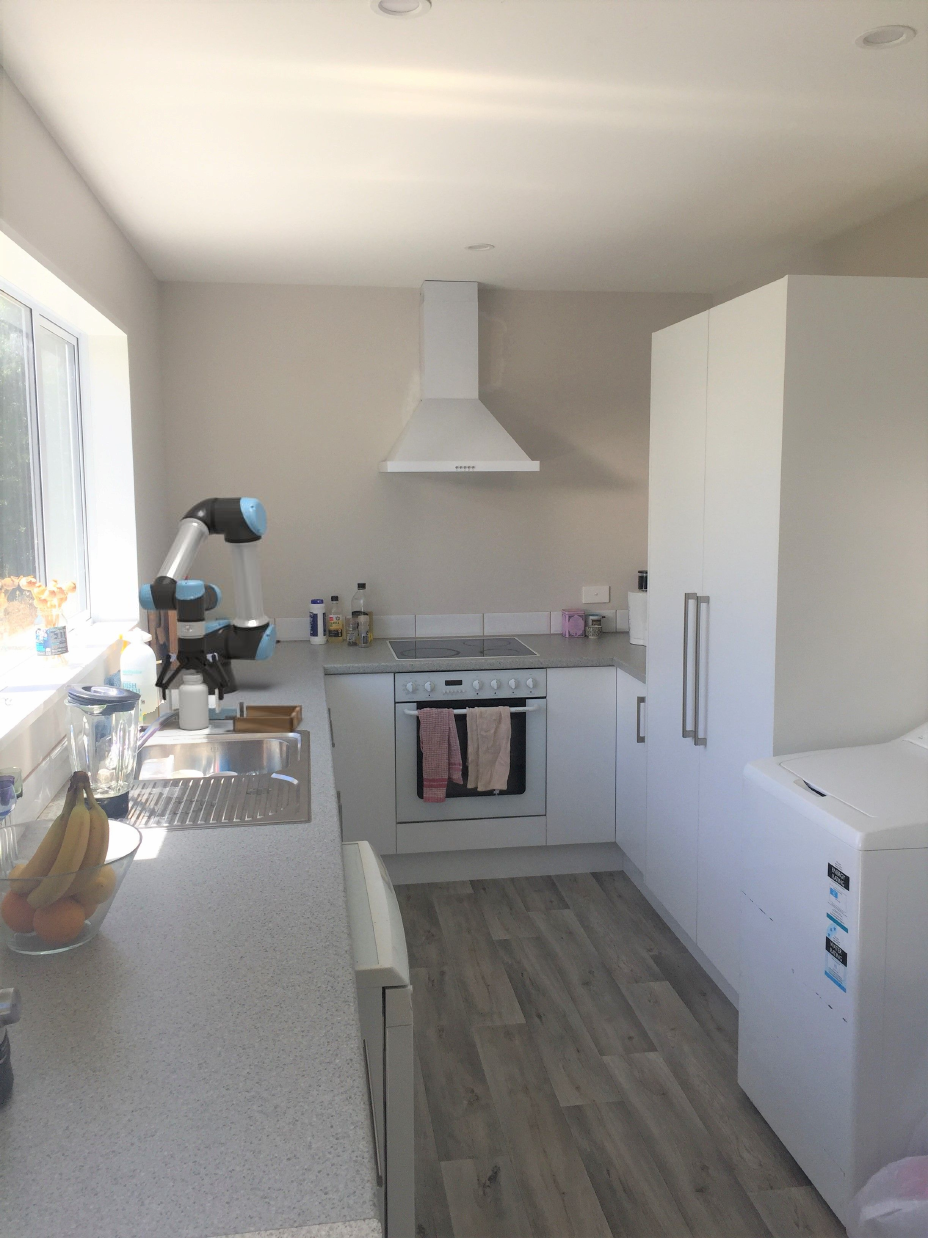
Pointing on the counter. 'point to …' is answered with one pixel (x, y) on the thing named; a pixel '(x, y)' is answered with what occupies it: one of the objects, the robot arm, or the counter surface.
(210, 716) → the gate
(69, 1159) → the counter surface
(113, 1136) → the counter surface
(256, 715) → the tray
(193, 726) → the pill bottle
